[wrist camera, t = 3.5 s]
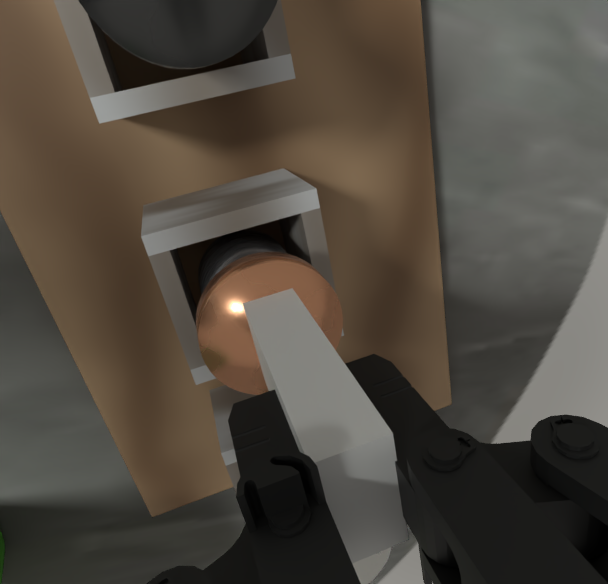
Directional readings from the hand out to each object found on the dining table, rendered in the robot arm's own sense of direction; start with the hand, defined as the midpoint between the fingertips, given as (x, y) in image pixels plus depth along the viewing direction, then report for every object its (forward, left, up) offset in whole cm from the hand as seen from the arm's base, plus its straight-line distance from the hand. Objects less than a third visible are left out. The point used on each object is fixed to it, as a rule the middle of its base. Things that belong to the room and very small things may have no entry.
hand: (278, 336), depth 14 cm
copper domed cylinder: (0, 0, -5) cm, 5 cm away
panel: (+1, 0, -9) cm, 9 cm away
